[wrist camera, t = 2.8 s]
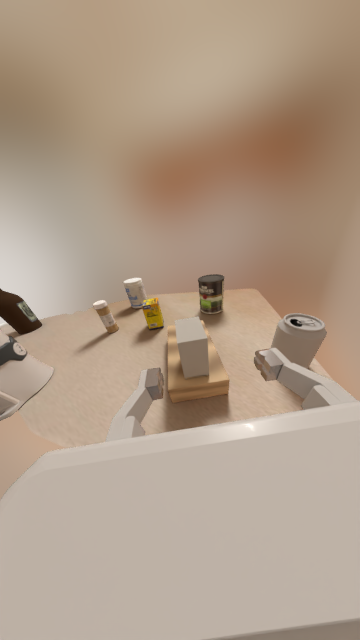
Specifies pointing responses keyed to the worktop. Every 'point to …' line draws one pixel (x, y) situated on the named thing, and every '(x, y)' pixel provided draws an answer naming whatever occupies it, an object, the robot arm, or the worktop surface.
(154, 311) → the supplement box
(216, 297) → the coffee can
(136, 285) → the supplement tub
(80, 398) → the worktop surface
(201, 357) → the block
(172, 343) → the plank
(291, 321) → the can
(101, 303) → the sprinkles bottle
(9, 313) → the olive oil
